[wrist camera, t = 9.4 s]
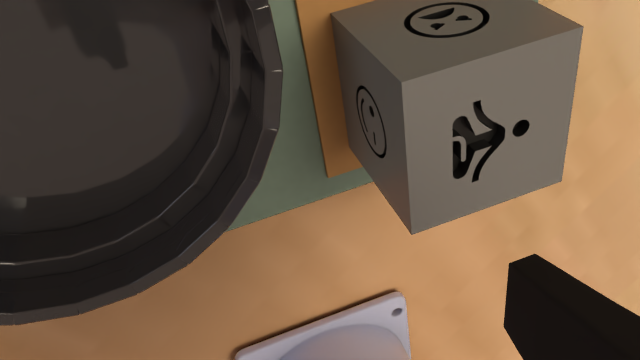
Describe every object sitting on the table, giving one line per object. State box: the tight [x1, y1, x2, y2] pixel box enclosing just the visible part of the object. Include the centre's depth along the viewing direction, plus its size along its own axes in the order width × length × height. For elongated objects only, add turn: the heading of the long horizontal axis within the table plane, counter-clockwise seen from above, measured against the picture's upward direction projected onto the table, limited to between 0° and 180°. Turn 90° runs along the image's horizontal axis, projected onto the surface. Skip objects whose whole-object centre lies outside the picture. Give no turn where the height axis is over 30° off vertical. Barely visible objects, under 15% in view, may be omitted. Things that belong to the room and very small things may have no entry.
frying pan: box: [0, 0, 283, 325], centre depth 15 cm, size 13×13×3 cm
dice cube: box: [330, 0, 583, 235], centre depth 18 cm, size 5×5×5 cm
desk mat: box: [225, 0, 538, 232], centre depth 16 cm, size 17×25×1 cm
